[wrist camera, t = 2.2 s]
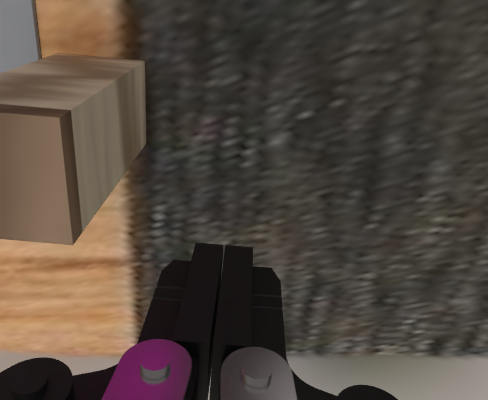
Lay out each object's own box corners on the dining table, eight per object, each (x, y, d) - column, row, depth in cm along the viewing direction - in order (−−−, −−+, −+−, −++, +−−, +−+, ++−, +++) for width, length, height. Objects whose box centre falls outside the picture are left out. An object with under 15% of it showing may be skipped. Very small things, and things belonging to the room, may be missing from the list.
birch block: (144, 60, 26) (59, 117, 15) (146, 143, 28) (73, 245, 17) (58, 53, 26) (-91, 104, 15) (66, 136, 28) (-58, 233, 17)
